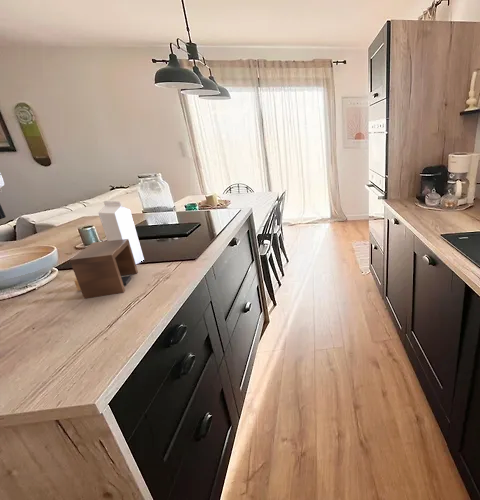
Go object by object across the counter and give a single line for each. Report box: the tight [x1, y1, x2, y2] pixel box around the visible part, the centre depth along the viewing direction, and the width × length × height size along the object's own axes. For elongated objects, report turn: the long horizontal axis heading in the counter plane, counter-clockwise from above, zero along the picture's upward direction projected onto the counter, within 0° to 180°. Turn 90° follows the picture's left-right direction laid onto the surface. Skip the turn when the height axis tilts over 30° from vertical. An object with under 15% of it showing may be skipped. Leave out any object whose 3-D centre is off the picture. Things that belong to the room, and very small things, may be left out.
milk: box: [98, 200, 145, 265], centre depth 97 cm, size 6×6×22 cm
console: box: [69, 239, 139, 300], centre depth 84 cm, size 9×15×12 cm, turn 22°
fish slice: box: [74, 275, 132, 292], centre depth 85 cm, size 12×5×3 cm, turn 112°
